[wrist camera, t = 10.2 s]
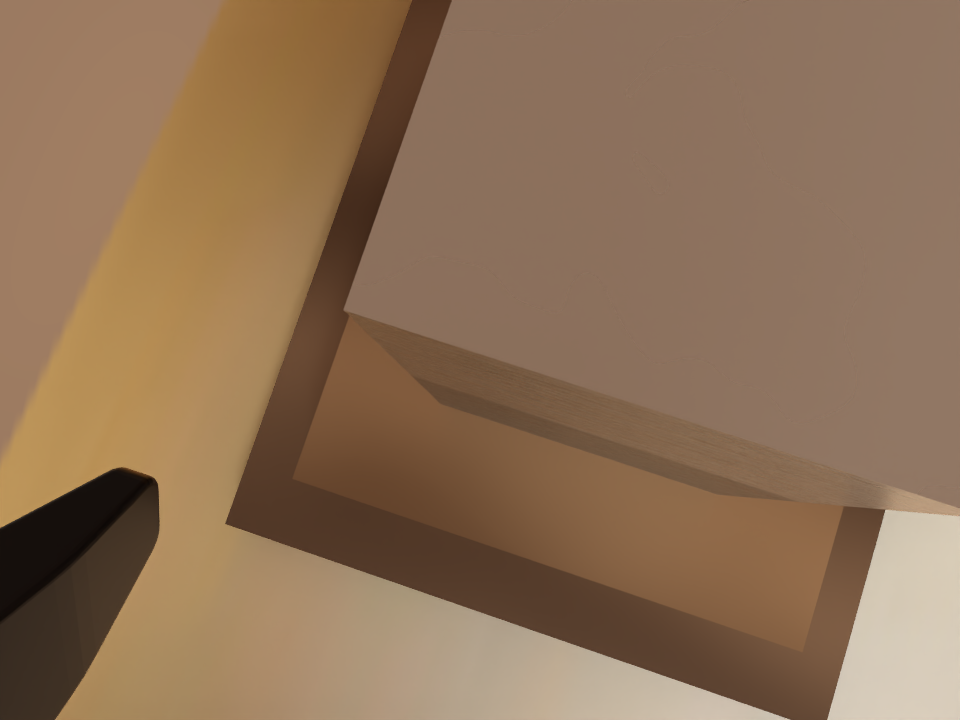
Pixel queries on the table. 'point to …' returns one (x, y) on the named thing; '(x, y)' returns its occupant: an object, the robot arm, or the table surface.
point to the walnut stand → (536, 496)
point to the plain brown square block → (690, 239)
